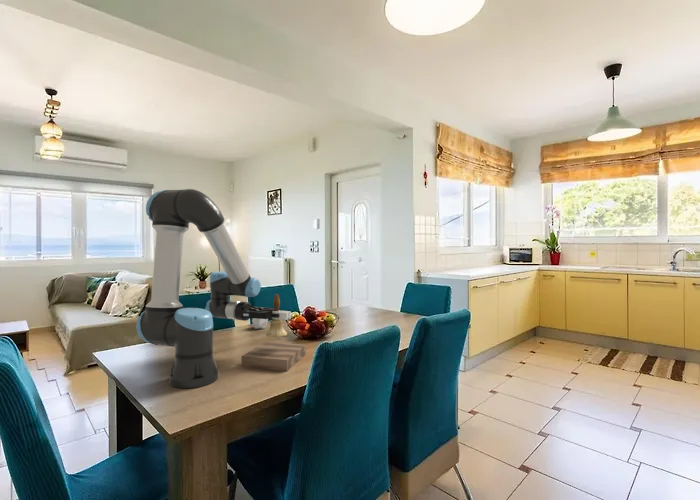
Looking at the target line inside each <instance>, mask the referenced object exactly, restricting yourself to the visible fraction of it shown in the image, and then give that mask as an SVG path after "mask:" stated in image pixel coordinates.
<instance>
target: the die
mask: <svg viewBox="0 0 700 500" xmlns="http://www.w3.org/2000/svg"><path fill="white" fill-rule="evenodd" d="M251 322H252V325H253V327H254V329H255V330H262V329H266V327H267V324H268V322H269V318H268V319H257V318H251Z"/></svg>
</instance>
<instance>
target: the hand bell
mask: <svg viewBox="0 0 700 500" xmlns="http://www.w3.org/2000/svg"><path fill="white" fill-rule="evenodd" d="M272 305H273V308H274V310H275V311H277V312H279V310H280V306H281V300H280V295H279V294H278V293H275V294H274V296H273V301H272ZM287 335H288V332H287V331H286V330H285V328H284V324H283V319H272V320H270V325H269V328H268V331H267V332H266V334H265V336H266V337H270V338H281V337H285V336H287Z"/></svg>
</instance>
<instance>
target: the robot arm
mask: <svg viewBox="0 0 700 500" xmlns="http://www.w3.org/2000/svg"><path fill="white" fill-rule="evenodd" d="M147 199H148V200H146V201H147V202H146V204H145V212H146V216H148V219H149V220H150V221H151V225H152V226H151V227H152V228H153V229H154V230H155V231H156V233H155V234H156V236H155V246H154V259H153V260H154V261H153V262H154V263H153V273H152V274H153V275H152V285H151V297H150V301H149V302H148V303H147V304H146V305H145V310H143V312H141V314H140V316H138V318H137V321H136V324H135V325H136V326H135V327H136V330H135V331H136V332H137V336H138V337H139V338H140V339H141V340H142V341H143V342H144V343H148V344H151V345H155V346H158V345H159V346H166V347H174V348H175V349H174V352H175V355H174V357H175V358H174V361H173V365H172V367H171V371H170V373H169V380H168V381H169V385H170V386H171V387H173V388H179V389H193V388H199V387H204V386H207V385H210V384H212V383H214V382H216V381H217V380H218V378H219V369H218V366H217V363H216V359H215V357H214V319H213V318H216V319H227V320H232V321H235V320H236V321H237V320H238V321H243V322H244V321H245V322H246V321H249V319H253V318H257V319H268V321H272V320H274V319H280V320H282V321H283V320H285V321H287V320H290V319H291V318H292V311H290V310H289V311H288V310H280V309H279V312H277V311H275V310H274V307H273V308H271V307H265V306H261V307H258V306H255V305H254V306H252V304H251V303H250V302H249V301H241V300H231V299H230V298H231V296H234V297H235V296H236V297H244V298H248V297H249V298H252V297H256V296H258V295H259V294H260V292H261V282H260V279H258V278H256V277H251V275H250V273H249V271H248V269H247V267H246V265H245V263H244V261H243V260H242V257H241V256H240V254H239V252H238V249H237V247H236V246H235V243H234V242H233V240H232V238H231V235H230V234H229V232H228V230H227V228H226V226H225V217H224V215H223V213H222V212H221V210H220V208H219V207H218V206H217V204H216V203H215V202H214V201H213V200H212V199H211V198H210V196H208V195H206V194H205V193H203V192H202V191H200V190H197V189H194V188H186V189H185V188H184V189H164V190H160V191H156V192H154V193H153V194H151V195H149V198H147ZM190 224H193V225H194V226H195V227H196V228H197V230H198V231H199V232H200V233H203V234H204V237H205V238H206V240H207V242H208V244H209V245H210V246H211V248H212V250H213V252H214V254H215V255H216V256H215V257H217V260H218V261H219V263H220V265H221V266H222V268H223V270H224V271H214V272H211V273H210V275H209V290H210V299H209V300H208V301H207V302H206V306H205V308H201V307H200V308H199V307H184V306H183V304H182V303H181V301H179V300H180V299H179V298H180V286H181V285H180V283H181V273H182V272H181V271H182V261H183V260H182V256H183V245H184V243H183V242H184V234H185V233H186V232H187V231H188V230H189V227H190V226H189V225H190Z"/></svg>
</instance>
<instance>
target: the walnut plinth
mask: <svg viewBox="0 0 700 500" xmlns="http://www.w3.org/2000/svg"><path fill="white" fill-rule="evenodd" d="M306 355H307V344H299V343H287V342H273V341H270V342H269V341H264V342H263V343H261V344H260V345H258V346H256V347H254V348H253V349H251V350H250V351H248V352H246V353H245V354H242V356H241V368H248V369H249V368H250V369H261V370H270V371H271V370H272V371H283V372H288V371H289V370H290V369H291V368H293V367H294V366H295V365H296V364H297V363H298V362H299V361H300V360H301V359H303V357H305V356H306Z"/></svg>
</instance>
